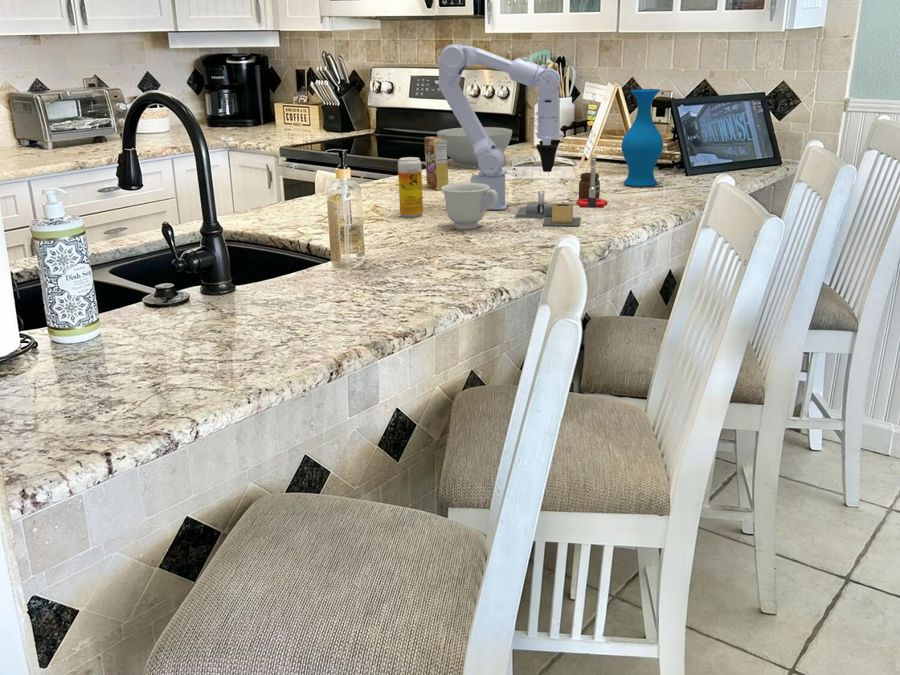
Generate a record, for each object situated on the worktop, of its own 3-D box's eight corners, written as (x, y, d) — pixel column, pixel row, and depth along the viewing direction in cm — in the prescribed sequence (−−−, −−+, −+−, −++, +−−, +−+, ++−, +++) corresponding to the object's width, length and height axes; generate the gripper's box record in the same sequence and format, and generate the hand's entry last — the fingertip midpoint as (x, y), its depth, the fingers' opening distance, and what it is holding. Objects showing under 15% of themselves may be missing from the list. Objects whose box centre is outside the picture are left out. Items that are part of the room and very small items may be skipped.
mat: (542, 226, 208) (542, 224, 208) (545, 218, 216) (545, 216, 216) (579, 226, 206) (579, 225, 206) (580, 218, 215) (580, 217, 214)
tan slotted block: (551, 223, 209) (552, 207, 208) (553, 218, 214) (553, 203, 212) (572, 223, 208) (572, 207, 207) (572, 218, 213) (573, 203, 211)
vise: (516, 217, 218) (516, 194, 216) (520, 209, 227) (520, 187, 225) (566, 218, 216) (567, 195, 214) (568, 210, 225) (569, 188, 223)
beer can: (406, 219, 220) (403, 161, 215) (396, 215, 225) (393, 158, 220) (426, 216, 222) (424, 158, 217) (417, 212, 227) (414, 156, 222)
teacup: (485, 235, 200) (484, 193, 197) (432, 229, 207) (431, 189, 204) (509, 225, 210) (509, 185, 206) (458, 220, 217) (457, 181, 214)
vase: (669, 184, 257) (675, 89, 247) (640, 189, 250) (645, 92, 241) (640, 180, 266) (644, 87, 257) (611, 184, 260) (615, 90, 250)
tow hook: (577, 202, 237) (575, 207, 229) (578, 155, 233) (577, 159, 225) (607, 203, 236) (607, 208, 227) (609, 156, 232) (609, 159, 223)
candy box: (425, 186, 265) (423, 137, 259) (438, 185, 266) (436, 136, 261) (436, 191, 257) (434, 140, 252) (449, 189, 259) (447, 139, 253)
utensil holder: (575, 199, 238) (576, 157, 234) (582, 196, 244) (584, 154, 239) (595, 201, 236) (597, 157, 232) (602, 197, 241) (604, 154, 237)
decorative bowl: (522, 161, 309) (522, 127, 305) (496, 172, 287) (496, 136, 282) (455, 158, 320) (455, 126, 316) (425, 169, 297) (424, 134, 293)
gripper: (562, 119, 213) (561, 173, 218) (565, 114, 226) (564, 165, 231) (534, 120, 214) (534, 173, 219) (539, 114, 228) (539, 165, 232)
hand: (548, 169), depth 225 cm, fingers open, 7 cm apart
